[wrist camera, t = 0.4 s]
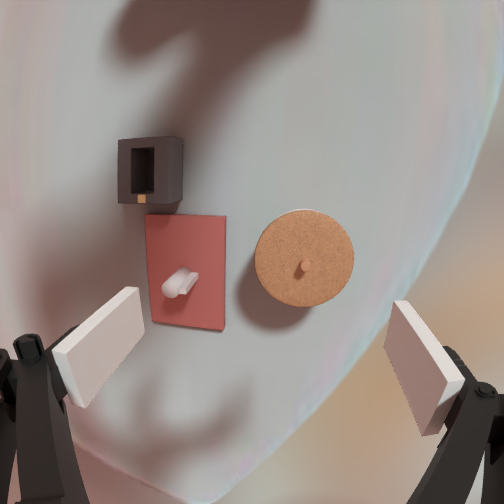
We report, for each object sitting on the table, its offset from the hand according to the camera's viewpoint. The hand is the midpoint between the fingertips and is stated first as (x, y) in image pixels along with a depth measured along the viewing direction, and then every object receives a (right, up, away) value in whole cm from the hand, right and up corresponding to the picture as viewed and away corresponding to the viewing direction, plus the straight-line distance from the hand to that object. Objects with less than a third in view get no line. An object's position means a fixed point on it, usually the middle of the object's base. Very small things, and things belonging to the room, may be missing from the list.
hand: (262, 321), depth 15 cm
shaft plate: (-10, +1, +28) cm, 29 cm away
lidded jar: (+6, +5, +25) cm, 26 cm away
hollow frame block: (-13, +14, +24) cm, 31 cm away
